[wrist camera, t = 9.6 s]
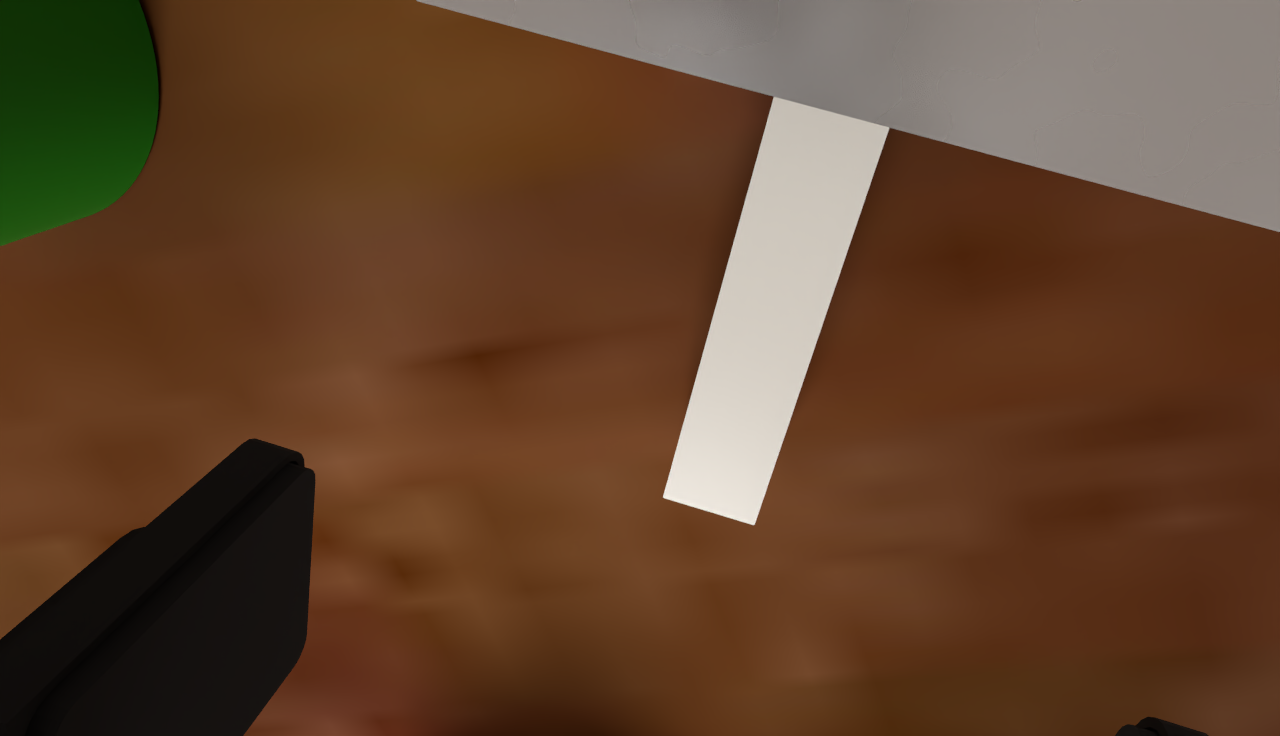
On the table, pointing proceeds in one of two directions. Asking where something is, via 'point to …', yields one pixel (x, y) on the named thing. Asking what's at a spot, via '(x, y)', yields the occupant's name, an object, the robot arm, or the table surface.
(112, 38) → the motor
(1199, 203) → the housing
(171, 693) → the robot arm
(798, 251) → the push rod
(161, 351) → the table surface
